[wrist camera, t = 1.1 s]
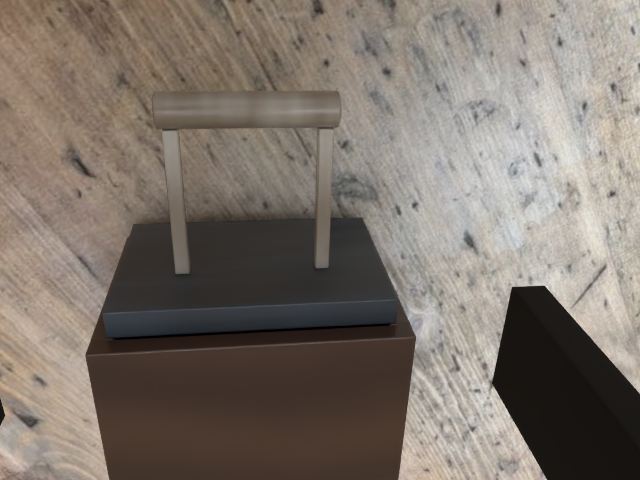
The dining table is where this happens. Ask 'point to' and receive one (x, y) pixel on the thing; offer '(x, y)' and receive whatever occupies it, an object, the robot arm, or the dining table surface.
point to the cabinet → (254, 403)
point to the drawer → (247, 241)
